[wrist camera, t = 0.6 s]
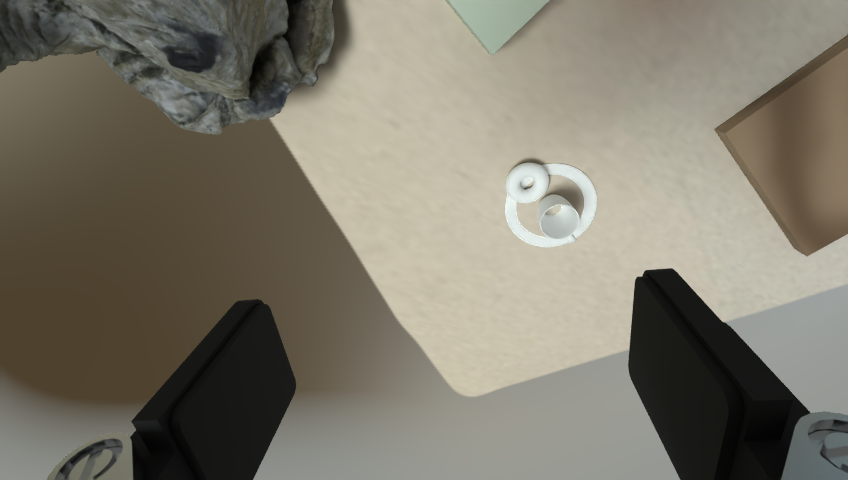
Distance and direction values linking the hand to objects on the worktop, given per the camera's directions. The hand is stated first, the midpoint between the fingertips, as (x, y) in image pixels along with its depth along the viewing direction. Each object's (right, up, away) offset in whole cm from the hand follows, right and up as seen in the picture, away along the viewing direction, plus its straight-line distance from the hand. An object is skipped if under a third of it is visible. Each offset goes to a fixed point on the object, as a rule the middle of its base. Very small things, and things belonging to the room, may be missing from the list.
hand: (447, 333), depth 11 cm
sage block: (+5, +20, +20) cm, 29 cm away
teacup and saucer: (+12, +8, +26) cm, 30 cm away
